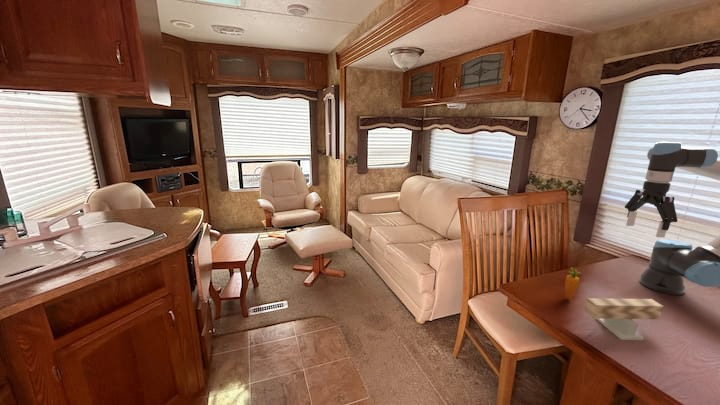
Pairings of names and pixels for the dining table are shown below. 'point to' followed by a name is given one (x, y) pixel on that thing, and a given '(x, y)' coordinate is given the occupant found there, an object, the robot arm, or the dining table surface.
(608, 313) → the birch bar
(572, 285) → the carrot
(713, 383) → the dining table surface
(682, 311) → the dining table surface
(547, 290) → the dining table surface
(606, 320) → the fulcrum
